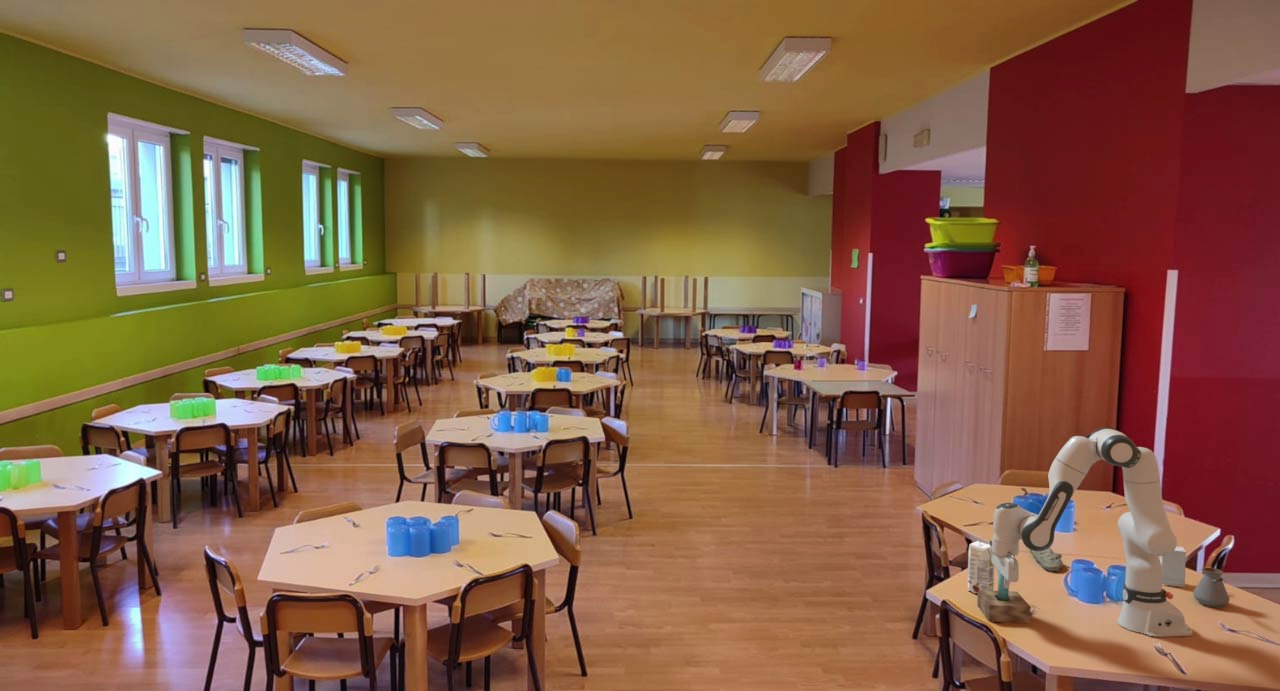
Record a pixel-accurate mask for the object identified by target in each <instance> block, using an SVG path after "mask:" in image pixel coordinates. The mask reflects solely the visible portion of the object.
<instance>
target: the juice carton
mask: <svg viewBox="0 0 1280 691" xmlns="http://www.w3.org/2000/svg"><path fill="white" fill-rule="evenodd" d="M967 555H968V557H967V591H968V592H969V591H971V592H970V593H972V592H974V593H973V594H976V593H977V594H976V595H978V590H986V591H994V588H995V569H996V567H995V566H994V565H993V564H992V562H991V546H990V544H989V543H985V542H981V541H979V540H977V541H974V542H972V543H971V542H970V543H969V546H968V554H967Z"/></svg>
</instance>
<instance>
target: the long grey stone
mask: <svg viewBox="0 0 1280 691" xmlns="http://www.w3.org/2000/svg"><path fill="white" fill-rule="evenodd" d="M1029 551H1030V552H1031V554H1032V557H1033V556H1034V557H1033V558H1034V559H1035V561H1036V562H1037V564H1039V566H1040V567H1041V566H1042V567H1041V568H1043V570H1047V571H1049V572H1059V571H1060V570H1062V569H1063V565H1064V564H1063V561H1062V558H1063V556H1062V554H1060V553H1057V552H1056V553H1055V552H1054V551H1053V550H1052V547H1051V546H1050V547H1049V548H1048V549H1046V550H1044V551H1033V550H1031V549H1029Z"/></svg>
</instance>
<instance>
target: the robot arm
mask: <svg viewBox="0 0 1280 691" xmlns="http://www.w3.org/2000/svg"><path fill="white" fill-rule="evenodd" d="M1101 460H1103V461H1105V462H1106V463H1108V464H1111V465H1113V466H1117V467H1121V468H1122V469H1121V470H1122V479H1123V490H1124V500H1125V503H1126V505H1127V508H1128V509H1129V511H1125V512H1124V513H1123V514H1121V515H1120V517H1119V518H1118V521H1117V528H1118V531H1119V533H1120V535H1121V539H1122V546H1123V551H1124V559H1125V578H1124V579H1125V580H1124V583H1123V591H1122V599H1123V603H1122V608H1121V611H1120V614H1119V617H1118V620H1117V623H1118V624H1119V625H1120V626H1121V627H1123V628H1125V629H1127V630H1129V631H1132V632H1134V633H1135V632H1136V633H1139V632H1140V633H1139V634H1143V633H1144V634H1143V635H1145V634H1147V635H1146V636H1148V635H1149V637H1151V636H1154V637H1153V638H1156V637H1155V636H1159V637H1158V638H1167V637H1185V636H1186V637H1190V636H1193V630H1192V628H1191V627H1190V626H1189V625H1188V624H1186V620H1185V615H1184V613H1182V611H1181V610H1180V609H1179V608H1177V607H1176V606H1175V605H1174V604H1172V603H1171V602H1170V601H1169V600H1173V598H1174V595H1173V594H1172V593H1171V592H1169V591H1167V590H1165V589H1164V588H1163V587H1162V586H1163V585H1162V574H1163V568H1162V565H1161V563H1160V556H1167V555H1169V554H1171V553H1172V552H1173V551H1174V550H1175V548H1176V547H1178V545H1177V544H1178V541H1177V536H1176V535H1175V534H1174V532H1173V530H1172V528H1171V526H1170V525H1171V524H1170V522H1169V519H1168V516H1167V512H1166V510H1165V506H1164V503H1163V496H1162V495H1163V494H1162V486H1161V476H1160V475H1161V474H1160V469H1159V468H1160V467H1159V465H1158V461H1157V457H1156V455H1155V453H1154V452H1153V451H1152V450H1151V449H1149V448H1147V447H1143V446H1137V445H1136V444H1135V442H1133V440H1132V439H1131V438H1129V437H1128V436H1127V435H1126V434H1124V433H1123V432H1121V431H1119V430H1116V429H1115V428H1112V427H1100V428H1098V429H1095V430H1094V431H1093V432H1091V433H1089V434H1088V435H1086V436H1082V435H1081V436H1080V435H1075V436H1071V437H1070V438H1069V439H1068V441H1066V443H1065V444H1064V445H1063V446H1062V448H1061V449H1060V450H1059V452H1058V453H1057V455H1056V456H1055V457H1054V460H1053V461H1052V463H1051V464H1050V468H1049V469H1048V470H1049V471H1048V473H1047V477H1048V478H1047V479H1048V485H1049V488H1048V489H1049V490H1048V497H1047V498H1046V500H1045V503H1044V504H1043V507H1042V508H1041V510H1040V511H1039V514H1038V513H1035V512H1031V511H1029V510H1026V509H1024V508H1023V507H1020V505H1019V504H1017V503H1016V502H1015V503H1014V502H1005V503H1004V502H1003V503H1001V504H999V505H997V506H996V507H995V509H994V513H993V519H992V520H993V521H992V522H993V523H992V524H993V526H992V528H993V535H992V539H989V541H988V542H989V543H988V544H990V546H991V562H992V564H993V565H994V566H995V569H997V576H998V575H999V566H1000V573H1001V574H1002V575H1003V576H1004V582H1003V587H1004V588H1009V589H1010V583H1018V581H1019V576H1020V574H1019V573H1020V571H1019V570H1020V569H1019V568H1020V567H1019V561H1018V559H1016V558H1015V557H1016V556H1019V549H1020V548H1019V547H1020V540H1022V543H1023V545H1024V546H1025V547H1026V548H1028V549H1029V550H1030V549H1031V550H1033V551H1044V550H1046V549H1048V548H1049V547H1050V548H1051V547H1052V546H1053V543H1054V541H1055V540H1054V539H1055V530H1056V528H1057V525H1058V523H1059V522H1060V520H1061V517H1062V516H1063V514H1064V512H1065V510H1066V508H1067V506H1068V505H1069V503H1070V500H1071V499H1072V497H1073V495H1074V494H1075V492H1076V491H1077V490H1078V488H1079V487H1080V485H1081V484H1082V482H1083V480H1084V479H1085V477H1086V476H1087V474H1088V472H1089V470H1090V469H1091V467H1092V466H1093V465H1094V464H1095V463H1096V462H1099V461H1101ZM1168 599H1169V600H1168Z"/></svg>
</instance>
